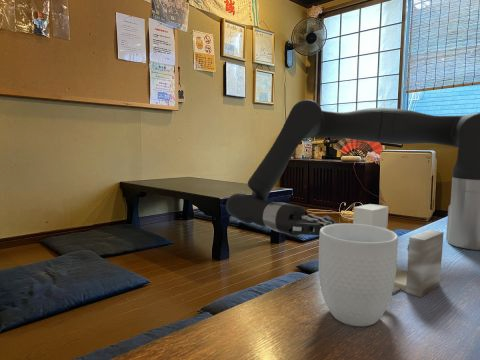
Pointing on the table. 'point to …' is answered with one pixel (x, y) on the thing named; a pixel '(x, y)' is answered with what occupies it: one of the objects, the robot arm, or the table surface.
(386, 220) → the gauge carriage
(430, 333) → the table surface
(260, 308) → the table surface
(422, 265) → the gauge base
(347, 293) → the mug
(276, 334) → the table surface
